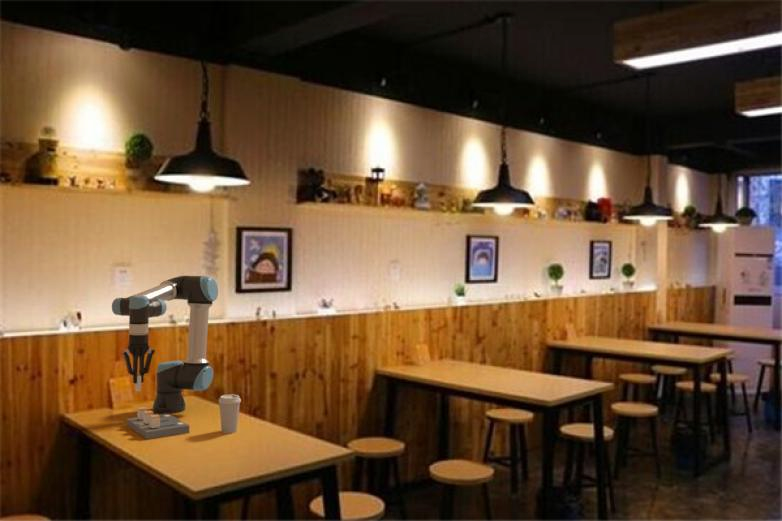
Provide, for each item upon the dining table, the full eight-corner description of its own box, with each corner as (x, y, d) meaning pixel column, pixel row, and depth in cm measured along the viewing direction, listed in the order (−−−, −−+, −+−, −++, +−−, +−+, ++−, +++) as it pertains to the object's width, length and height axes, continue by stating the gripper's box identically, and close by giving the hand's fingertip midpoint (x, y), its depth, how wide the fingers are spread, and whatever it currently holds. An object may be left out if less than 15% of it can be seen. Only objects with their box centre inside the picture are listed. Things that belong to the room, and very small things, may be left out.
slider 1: (144, 417, 303) (144, 406, 303) (147, 418, 300) (147, 408, 300) (137, 418, 301) (137, 407, 301) (139, 419, 298) (139, 409, 298)
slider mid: (150, 421, 297) (150, 410, 297) (153, 422, 294) (153, 412, 294) (143, 422, 295) (143, 411, 295) (145, 423, 292) (146, 413, 292)
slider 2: (157, 425, 291) (157, 414, 290) (160, 427, 288) (160, 416, 288) (149, 426, 289) (149, 415, 288) (152, 428, 286) (152, 417, 286)
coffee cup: (237, 434, 291) (238, 399, 291) (215, 433, 291) (215, 398, 291) (242, 428, 301) (243, 394, 300) (221, 427, 301) (221, 393, 300)
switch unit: (167, 419, 313) (167, 412, 313) (189, 432, 292) (189, 425, 292) (126, 425, 302) (126, 418, 302) (146, 439, 281) (146, 431, 281)
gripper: (151, 331, 290) (150, 387, 290) (119, 333, 282) (118, 391, 282) (157, 333, 284) (157, 390, 284) (125, 335, 276) (124, 394, 276)
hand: (138, 390), depth 283 cm, fingers closed
